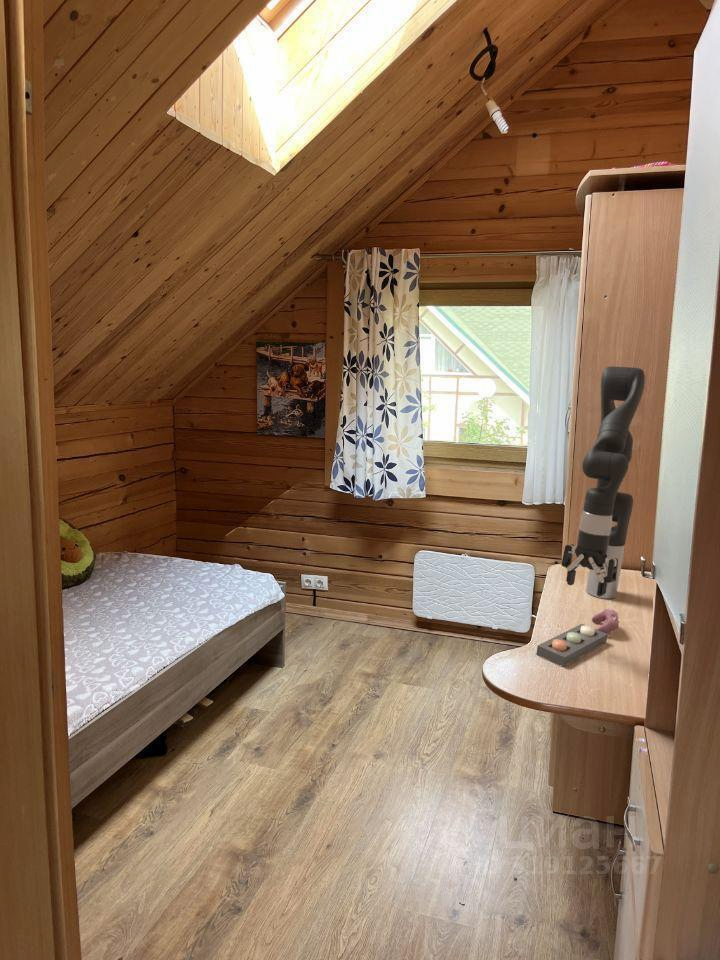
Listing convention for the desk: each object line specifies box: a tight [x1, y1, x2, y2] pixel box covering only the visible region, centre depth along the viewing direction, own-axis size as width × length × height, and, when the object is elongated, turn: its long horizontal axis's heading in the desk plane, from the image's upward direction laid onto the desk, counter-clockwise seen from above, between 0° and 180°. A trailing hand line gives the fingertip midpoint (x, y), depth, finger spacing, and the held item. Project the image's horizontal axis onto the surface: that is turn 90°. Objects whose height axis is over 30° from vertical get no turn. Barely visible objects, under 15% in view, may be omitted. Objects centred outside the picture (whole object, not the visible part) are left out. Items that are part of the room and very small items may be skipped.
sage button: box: [566, 632, 582, 645], centre depth 177 cm, size 4×4×2 cm
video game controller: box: [591, 607, 620, 635], centre depth 190 cm, size 10×5×7 cm
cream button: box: [580, 625, 595, 638], centre depth 182 cm, size 4×4×2 cm
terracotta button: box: [552, 639, 567, 652], centre depth 173 cm, size 4×4×2 cm
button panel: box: [535, 623, 609, 667], centre depth 178 cm, size 22×8×2 cm, turn 133°
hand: (585, 590), depth 176 cm, fingers open, 8 cm apart
